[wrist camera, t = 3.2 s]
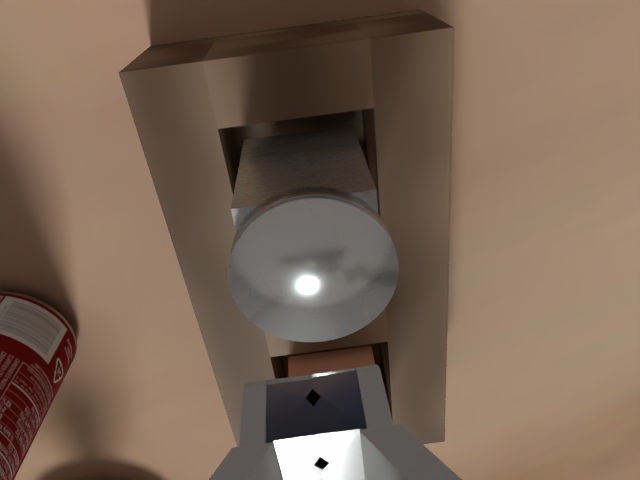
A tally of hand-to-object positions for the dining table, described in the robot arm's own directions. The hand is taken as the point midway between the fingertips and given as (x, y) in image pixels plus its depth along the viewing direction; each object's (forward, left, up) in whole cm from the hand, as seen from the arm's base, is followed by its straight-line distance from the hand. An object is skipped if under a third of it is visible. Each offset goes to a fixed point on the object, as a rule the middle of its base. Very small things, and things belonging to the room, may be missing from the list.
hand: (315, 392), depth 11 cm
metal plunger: (0, 0, -12) cm, 12 cm away
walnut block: (0, +6, -16) cm, 17 cm away
